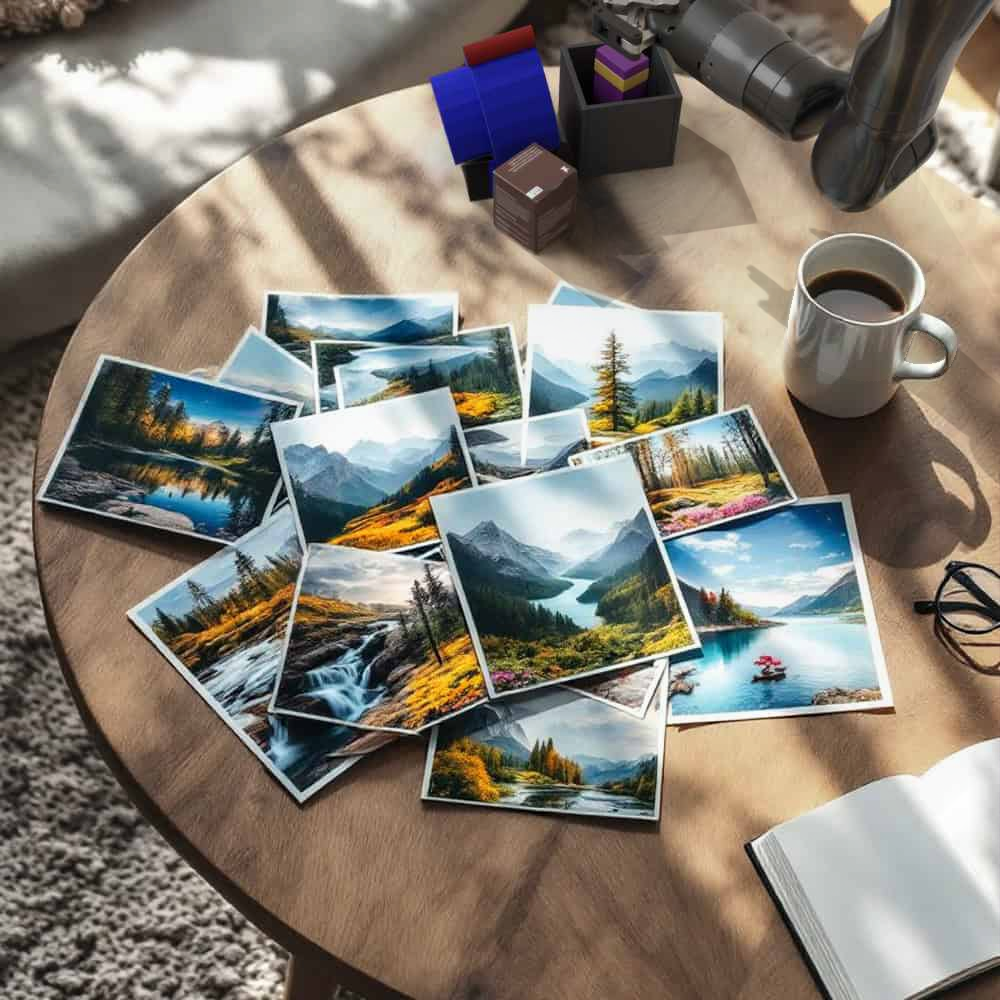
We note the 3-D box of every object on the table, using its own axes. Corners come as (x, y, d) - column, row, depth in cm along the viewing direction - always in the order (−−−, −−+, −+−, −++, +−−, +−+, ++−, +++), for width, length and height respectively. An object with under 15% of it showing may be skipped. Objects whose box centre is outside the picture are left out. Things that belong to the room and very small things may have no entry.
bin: (649, 102, 136) (657, 33, 129) (673, 165, 130) (683, 96, 123) (557, 114, 135) (560, 45, 128) (578, 178, 130) (582, 110, 122)
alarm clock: (565, 185, 129) (571, 63, 116) (449, 204, 127) (443, 83, 115) (537, 109, 135) (539, -14, 123) (426, 127, 134) (417, 4, 122)
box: (534, 196, 128) (535, 140, 122) (576, 225, 126) (579, 170, 120) (491, 226, 126) (490, 170, 120) (534, 256, 123) (535, 201, 117)
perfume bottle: (613, 116, 134) (620, 36, 125) (641, 138, 132) (650, 58, 123) (590, 129, 133) (595, 49, 124) (617, 151, 131) (624, 71, 122)
